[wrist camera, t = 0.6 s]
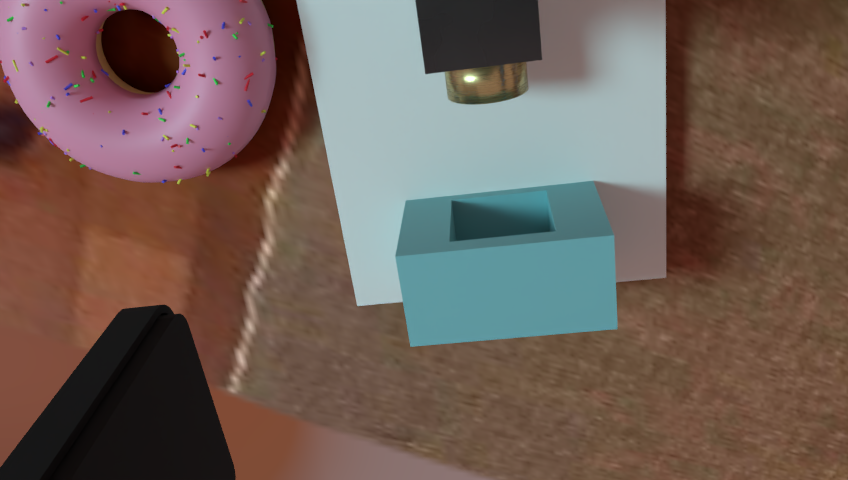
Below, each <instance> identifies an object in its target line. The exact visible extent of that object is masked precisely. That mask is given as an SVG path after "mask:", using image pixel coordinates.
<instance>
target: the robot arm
mask: <svg viewBox="0 0 848 480" xmlns="http://www.w3.org/2000/svg"><path fill="white" fill-rule="evenodd" d="M0 480H235V469H234V465H233V462H232V459H231V456H230V452H229V449H228V446H227V443H226V440H225V437H224V434H223V431H222V428H221V424H220V421H219V418H218V415H217V412H216V409H215V406H214V403H213V400H212V396H211V394H210V390H209V387H208V384H207V381H206V378H205V375H204V372H203V369H202V365H201V362H200V359H199V356H198V353H197V350H196V347H195V344H194V341H193V338H192V334H191V331H190V328H189V325H188V323H187V320H186V319H185V317H184V316H183V315H181V314H174V313H173V311H172V310H171V309H170V307H168V306H166V305H156V306H146V307H137V308H127V309H122V310H121V311H120V312H119V313H118V314H117V315H116V316H115V318H114V319H113V320H112V322H111V323H110V324H109V326H108V327H107V328H106V330H105V331H104V332H103V334H102V335H101V336H100V337H99V339H98V340H97V341H96V343H95V344H94V345H93V347H92V348H91V349H90V351H89V352H88V353H87V354H86V356H85V357H84V358H83V360H82V361H81V362H80V364H79V365H78V366H77V368H76V369H75V370H74V372H73V373H72V374H71V375H70V377H69V378H68V379H67V381H66V382H65V383H64V385H63V386H62V387H61V389H60V390H59V391H58V393H57V394H56V395H55V396H54V398H53V399H52V400H51V402H50V403H49V404H48V406H47V407H46V408H45V410H44V411H43V412H42V414H41V415H40V416H39V417H38V419H37V420H36V421H35V423H34V424H33V425H32V427H31V428H30V429H29V431H28V432H27V433H26V435H25V436H24V437H23V438H22V440H21V441H20V442H19V444H18V445H17V446H16V448H15V449H14V450H13V452H12V453H11V454H10V456H9V457H8V458H7V460H6V461H5V462H4V464H3V465H2V466H1V467H0Z"/></svg>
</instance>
